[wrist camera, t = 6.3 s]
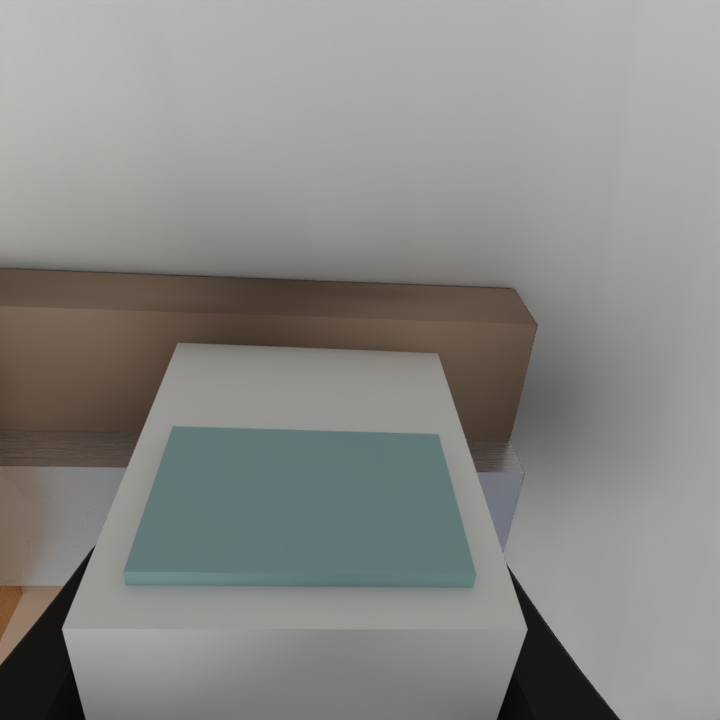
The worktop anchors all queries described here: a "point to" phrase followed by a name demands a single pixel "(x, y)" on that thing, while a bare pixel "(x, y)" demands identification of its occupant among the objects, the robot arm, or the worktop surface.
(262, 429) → the block
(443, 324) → the board
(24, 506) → the rail
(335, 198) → the worktop surface
